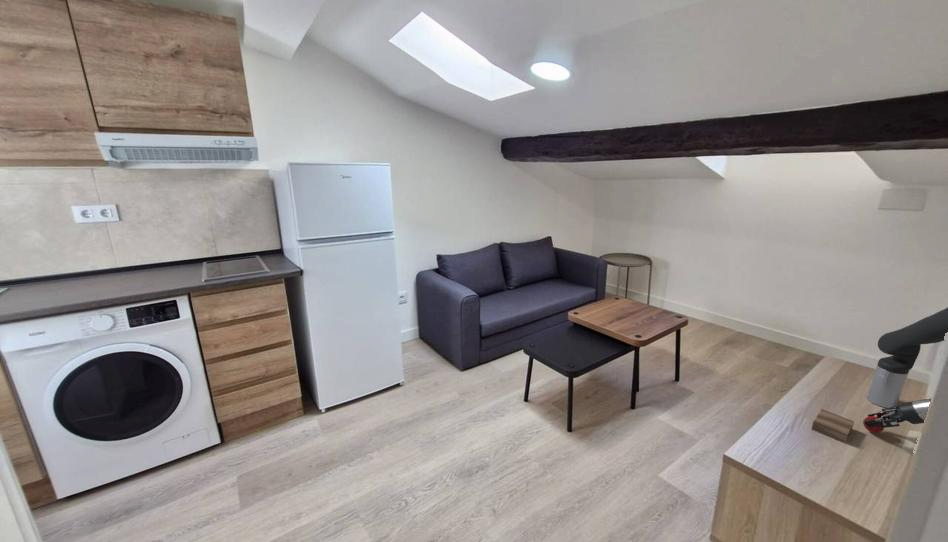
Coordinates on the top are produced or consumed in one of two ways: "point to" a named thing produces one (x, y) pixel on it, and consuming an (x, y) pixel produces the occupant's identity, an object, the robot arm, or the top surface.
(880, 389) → the robot arm
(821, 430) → the plinth
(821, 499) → the top surface
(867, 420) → the pomegranate
